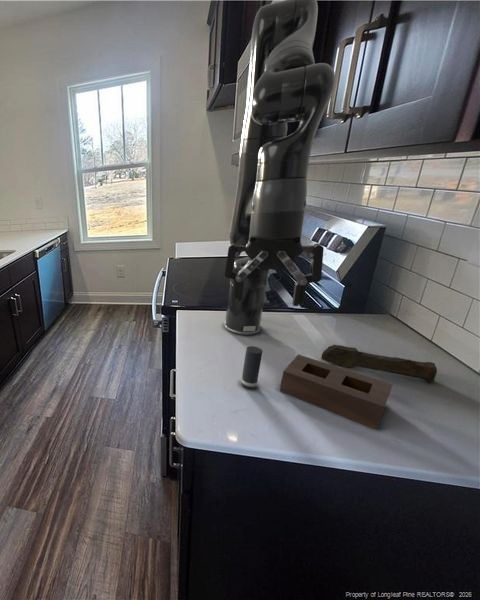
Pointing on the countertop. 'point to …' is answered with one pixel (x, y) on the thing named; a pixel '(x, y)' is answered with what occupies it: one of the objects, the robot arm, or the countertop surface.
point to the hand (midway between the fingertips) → (266, 302)
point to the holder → (337, 389)
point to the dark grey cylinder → (251, 367)
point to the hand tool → (379, 362)
